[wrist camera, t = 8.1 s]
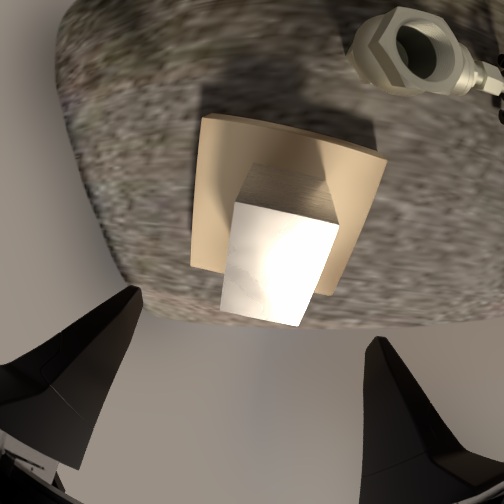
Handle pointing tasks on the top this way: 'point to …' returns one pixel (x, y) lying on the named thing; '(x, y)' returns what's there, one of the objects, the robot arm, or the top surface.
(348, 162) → the oak plate
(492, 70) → the valve
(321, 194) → the aluminium block
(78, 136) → the top surface
